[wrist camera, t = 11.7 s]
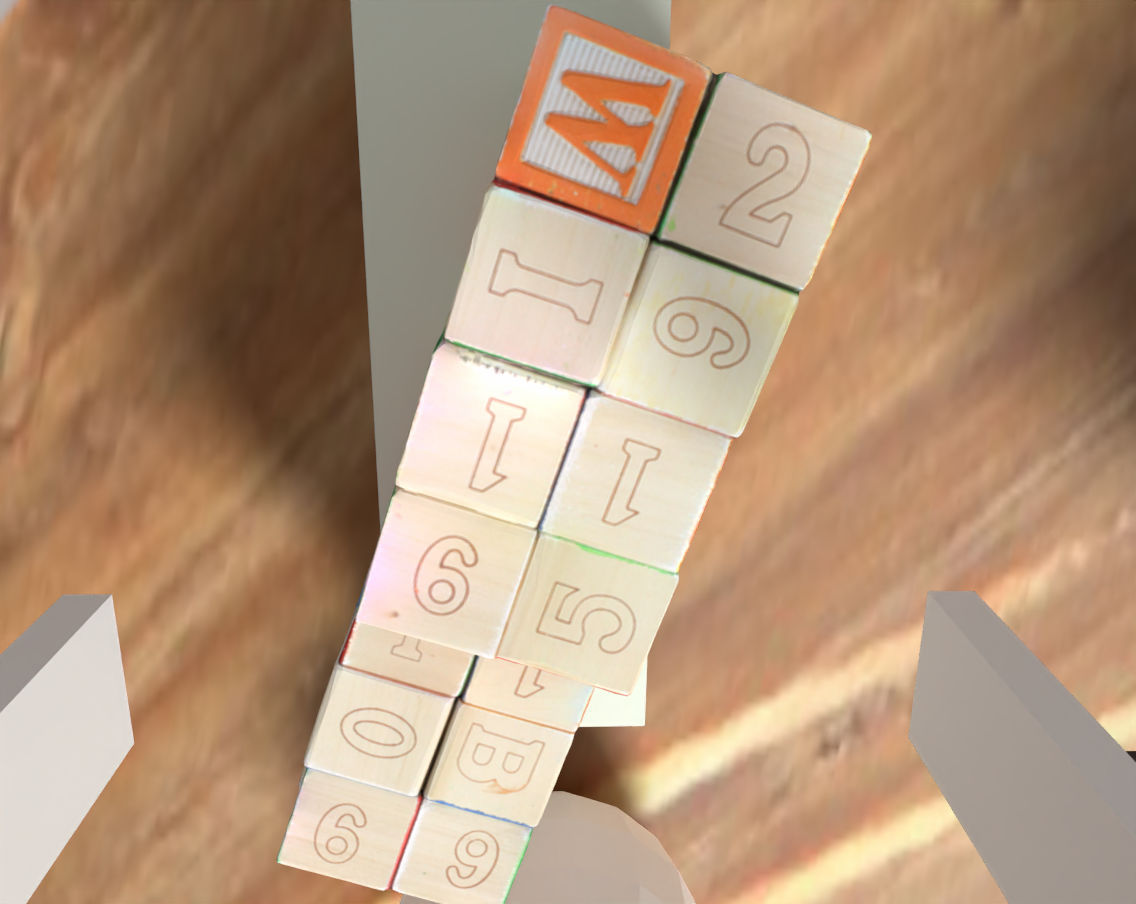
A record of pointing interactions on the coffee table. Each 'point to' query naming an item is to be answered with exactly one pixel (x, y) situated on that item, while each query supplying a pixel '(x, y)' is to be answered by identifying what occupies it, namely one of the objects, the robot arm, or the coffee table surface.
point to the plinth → (445, 187)
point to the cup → (591, 859)
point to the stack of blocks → (562, 448)
